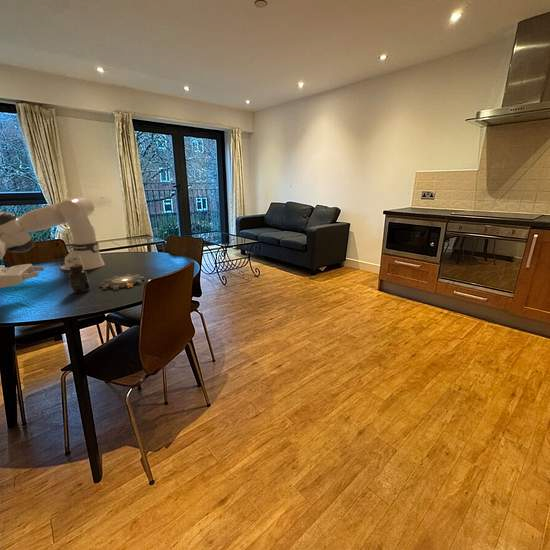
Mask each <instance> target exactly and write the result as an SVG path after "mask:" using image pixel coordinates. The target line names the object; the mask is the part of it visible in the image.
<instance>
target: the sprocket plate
mask: <svg viewBox="0 0 550 550" xmlns="http://www.w3.org/2000/svg"><path fill="white" fill-rule="evenodd" d="M142 280H144V281H145V276H142V275H141V274H131V273H130V274H124V275H114V276H112V277H110V278H105V279H104V280H102V282H100V283H99V287H100V288H102V290H104V289H106V291H107V289H108V290H113V291H120V289H125V287H126V288H127V289H130V287H131V288H133V287H134V286H136V285H141V284H143V283H142V282H143V281H142ZM135 284H136V285H135ZM133 285H134V286H133Z"/></svg>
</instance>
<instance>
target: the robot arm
mask: <svg viewBox="0 0 550 550" xmlns="http://www.w3.org/2000/svg"><path fill="white" fill-rule="evenodd" d="M94 211H95V205H94V202H93V201H92V200H91V199H88V198H87V197H83V196H78V197H70V198H66V199H64V200H62V201H60V202H57V203H52V204H48V205H46V206H42V207H39V208H36V209H33V210H30V211H27V212H26V213H23V214H21V215H20V216H19V215H18V214H17V213H12V212H9V211H0V260H2V259H3V257H4V256H5V255H6V252H8V253H10V252H11V253H15V254H16V253H17V254H21V253H25V252H28V251H30V250H31V249H32V248H34V247H35V241H34V239H33V237H31V235H30V234H29V233H33V232H41V231H44V230H48V229H50V228H51V229H52V228H53V227H54V228H55V227H58V226H60V225H64V224H67V225H68V227H69V229H70V232H71V236H72V240H73V244H71V245H70V248H72V250H71V252H70V253H68V254H67V255H66V256H65V258H64V265H62V266H61V267H60V269H61V270H64V271H70V268H69V267H70V266H73V265H82V266H83V270H84V271H87V270H92V269H93V270H94V269H97V268H98V269H99V268H101V267H104V266H105V265H106V264H105V262H104V260H103V257H102V255H101V252H100V246H99V241H98V240H97V235H96V232H95V231H96V230H95V228H94V226H93V224H92V223H91V221H90V219H89V216H91V215H92V214H93V213H94ZM44 270H45V267H44V266H43V265H39V266H36V265H33V264H32V263H25V264H18V265H13V266H10V267H5V266H4V265H3V264H1V265H0V289H1V288H7V287H12V286H13V287H14V286H18V285H20V284H22V283H23V282H24V281H25V280H28V279H32V278H37V277H39V276H40V274H39V272H43V271H44Z"/></svg>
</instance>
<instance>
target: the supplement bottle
mask: <svg viewBox="0 0 550 550" xmlns="http://www.w3.org/2000/svg"><path fill="white" fill-rule="evenodd" d="M69 268H70V270H69V271H70V272H69V273H68V278H69V283H70V286H71V291H72V293H73V294H75V293H80V294H85V293H87V291H88V292H89V290H90V291H91V286H90V282H89V277H88V273H87V270H83V266H82V265H73V266H70V267H69ZM84 292H85V293H84Z"/></svg>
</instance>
